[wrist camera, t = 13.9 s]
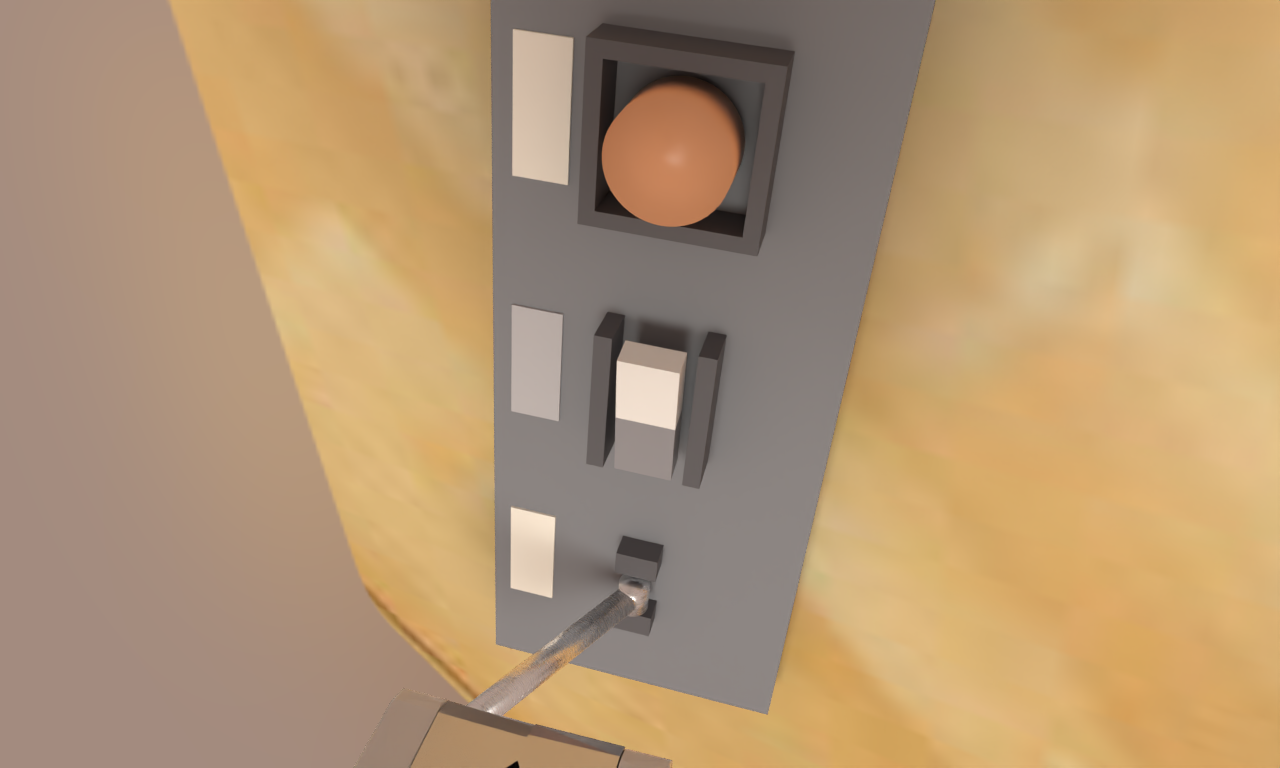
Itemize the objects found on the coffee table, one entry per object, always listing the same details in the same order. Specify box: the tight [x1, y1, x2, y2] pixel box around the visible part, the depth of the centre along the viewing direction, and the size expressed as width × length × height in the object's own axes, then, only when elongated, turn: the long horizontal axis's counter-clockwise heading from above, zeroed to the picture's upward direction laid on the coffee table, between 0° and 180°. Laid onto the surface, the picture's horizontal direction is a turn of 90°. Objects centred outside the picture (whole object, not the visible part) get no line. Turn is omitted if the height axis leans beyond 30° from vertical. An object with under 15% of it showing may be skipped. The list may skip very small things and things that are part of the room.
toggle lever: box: [466, 575, 650, 716], centre depth 34 cm, size 2×2×12 cm
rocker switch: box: [614, 340, 687, 481], centre depth 32 cm, size 5×2×1 cm, turn 176°
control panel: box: [491, 0, 935, 715], centre depth 33 cm, size 30×12×4 cm, turn 175°
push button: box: [602, 76, 745, 227], centre depth 27 cm, size 4×4×2 cm
